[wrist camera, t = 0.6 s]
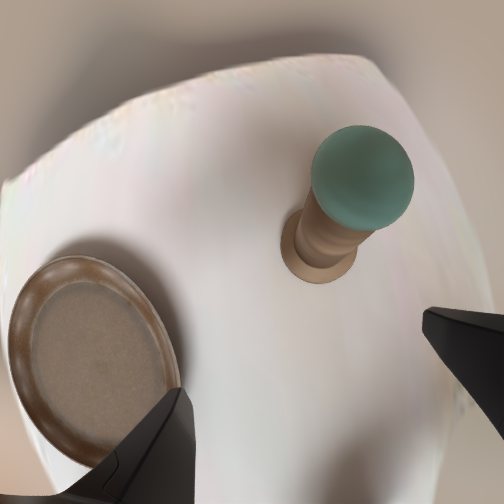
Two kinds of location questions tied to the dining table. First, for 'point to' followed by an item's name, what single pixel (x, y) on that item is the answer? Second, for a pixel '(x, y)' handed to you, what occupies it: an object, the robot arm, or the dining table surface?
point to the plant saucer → (87, 356)
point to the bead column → (347, 202)
